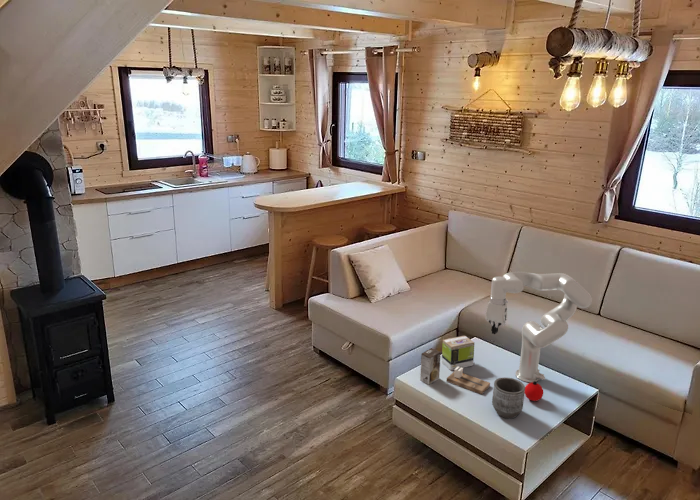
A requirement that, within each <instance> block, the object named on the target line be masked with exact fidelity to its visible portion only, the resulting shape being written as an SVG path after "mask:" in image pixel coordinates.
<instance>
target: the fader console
mask: <svg viewBox="0 0 700 500" xmlns="http://www.w3.org/2000/svg"><path fill="white" fill-rule="evenodd" d="M446 382H447V383H450V384H451V385H456V386H458V387H460V388H463V389H466V390H468V391H471V392H473V393H474V392H475V393H476V394H479V395H483V394H484V393H485V392H486V391H487V390H488V389H489V388H490V386H491V383H490V382H489V381H486V380H483V379H481V378H478V377H475V376H472V375H469V374H466V373H464V372H463V376H461V377H460V378H456V377H454V371H453V372H452V373H451V374H450V375H448V376H447V377H446Z"/></svg>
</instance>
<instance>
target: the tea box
mask: <svg viewBox="0 0 700 500" xmlns="http://www.w3.org/2000/svg"><path fill="white" fill-rule="evenodd" d="M441 347H442V348H441V350H442V351H441V352H442V353H441V363H442V365H444V366H445V367H446V368H447V369H449V370H450V371H453V370H455V368H457V367H458V366H459V367H461V368H463V369H464V368H469V367H472V366H474V358H475V342H474V341H473V340H472V339H470V338H469V337H467V336H466V335H461V336H456V337H449V338H446V339H442V345H441Z"/></svg>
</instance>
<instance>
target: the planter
mask: <svg viewBox="0 0 700 500" xmlns="http://www.w3.org/2000/svg"><path fill="white" fill-rule="evenodd" d="M525 387H526V385H525V384H524V383H523V382H522V381H521V380H518V379H517V378H516V379H515V378H512V377H498V378H496V379H495V380H494V382H493V389H492V390H493V391H492V399H491V400H492V401H491V403H492V404H491V405H492V407H493V409H494V411H495V412H496V414H497V416H500V417H502V418H504V419H514V418H516V417H517V416H518V415H519V414H520V413H521V412H522V411H523V410H524V409H523V408H524V403H525V402H524V401H525V400H524V399H525Z"/></svg>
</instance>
